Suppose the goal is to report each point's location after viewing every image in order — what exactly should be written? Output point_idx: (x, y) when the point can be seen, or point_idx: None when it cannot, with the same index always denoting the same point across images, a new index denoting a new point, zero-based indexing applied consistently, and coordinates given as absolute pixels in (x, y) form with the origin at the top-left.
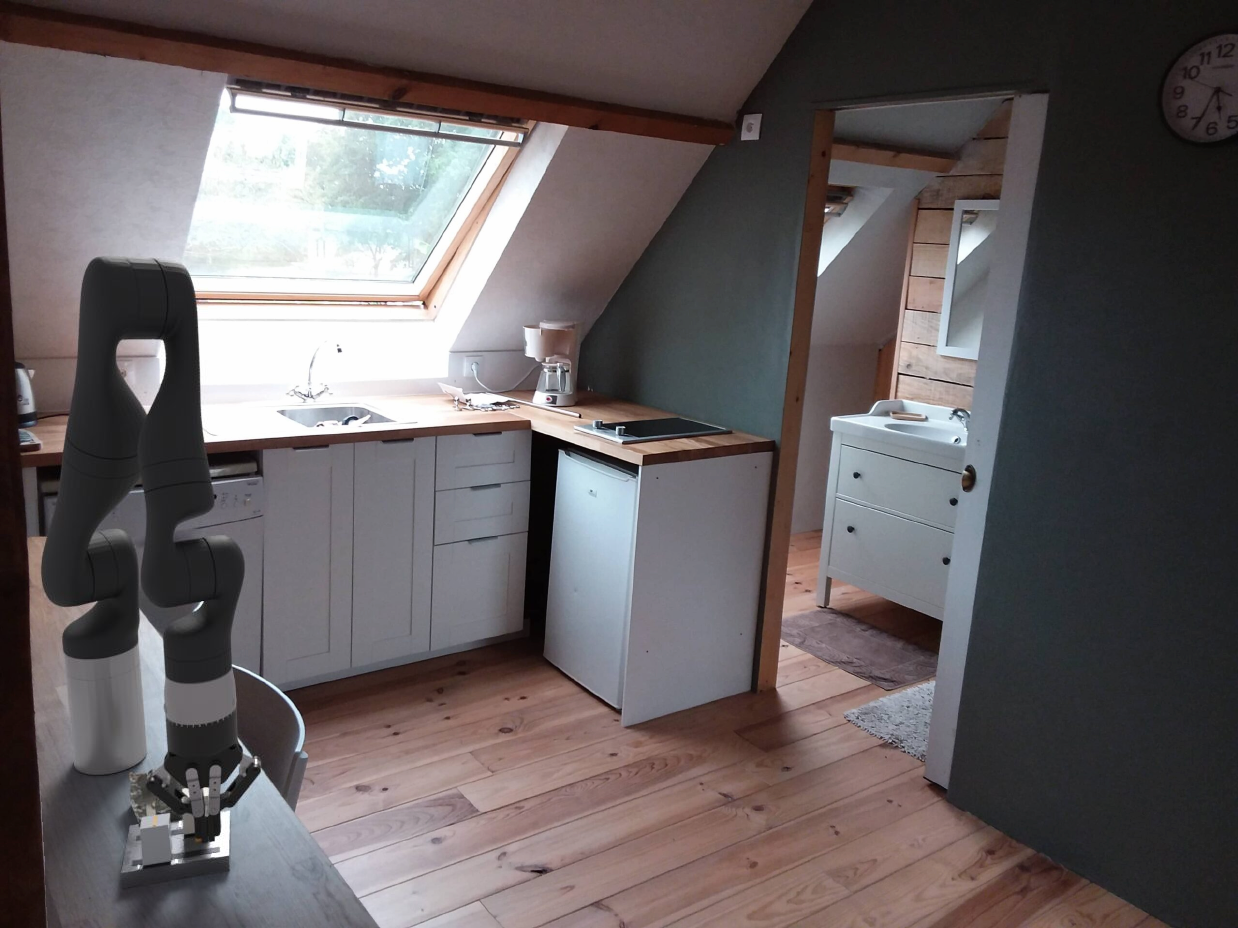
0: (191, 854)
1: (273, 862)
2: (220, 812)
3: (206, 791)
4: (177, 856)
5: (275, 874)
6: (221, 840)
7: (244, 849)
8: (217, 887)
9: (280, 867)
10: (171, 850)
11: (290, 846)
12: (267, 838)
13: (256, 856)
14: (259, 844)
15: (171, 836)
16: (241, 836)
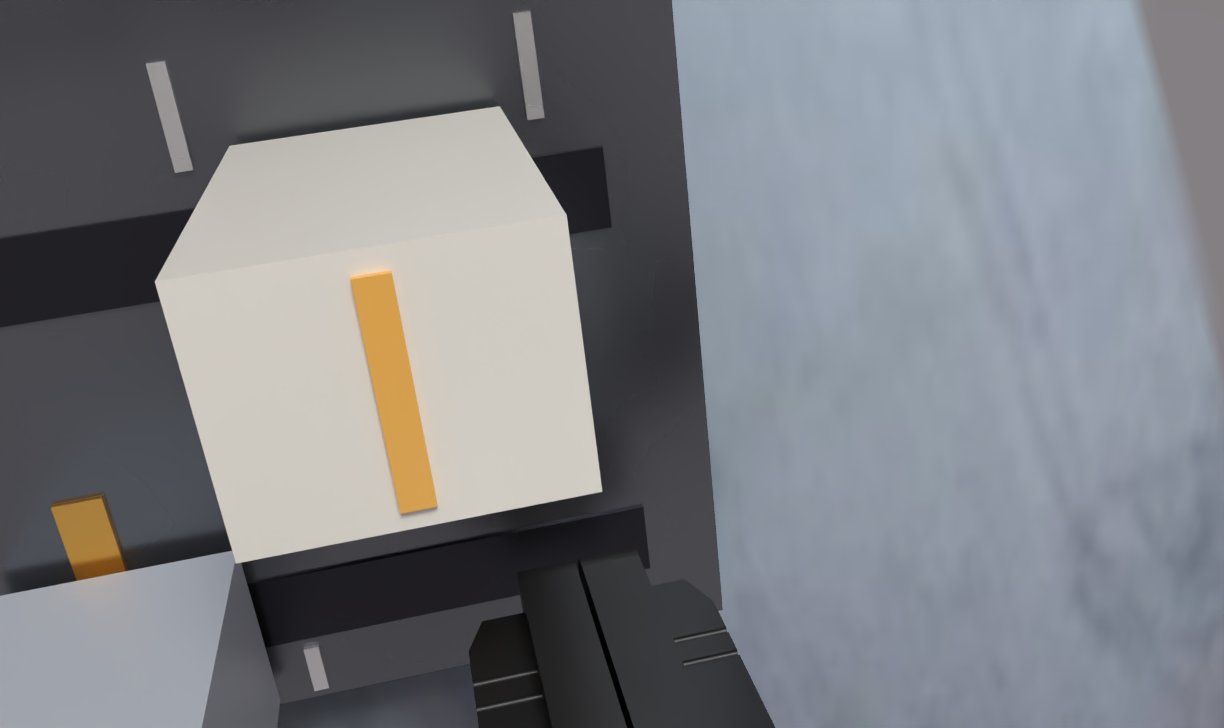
0: (424, 598)
1: (969, 476)
2: (761, 705)
3: (560, 396)
4: (309, 611)
5: (975, 593)
6: (640, 417)
7: (772, 310)
8: None
9: (1009, 529)
10: (255, 652)
11: (1092, 308)
12: (940, 184)
13: (860, 403)
14: (880, 258)
15: (223, 637)
16: (738, 126)
